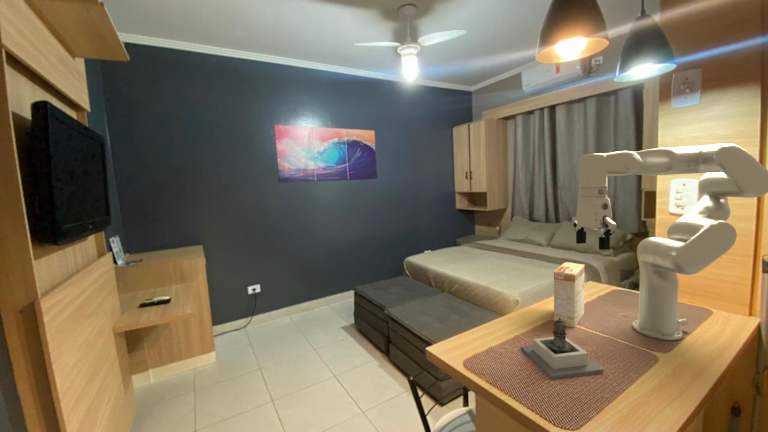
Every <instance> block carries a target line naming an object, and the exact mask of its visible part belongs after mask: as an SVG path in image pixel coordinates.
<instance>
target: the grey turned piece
mask: <svg viewBox="0 0 768 432" xmlns="http://www.w3.org/2000/svg"><path fill="white" fill-rule="evenodd" d="M552 334H553V337H554V339H553V341H550V342H549V343H548V345H549V347H550V350H551V351H552V352H553V353H554V354H562V353H569V352H570V350H571V346H570V345H569V344H568V343H566V338H567V335H568V333H567V332H566V325H565V323H564V322H563V321H561V319H560V318H559V320H557V321H555V322H554V321H553V330H552Z"/></svg>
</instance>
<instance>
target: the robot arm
mask: <svg viewBox="0 0 768 432" xmlns="http://www.w3.org/2000/svg"><path fill="white" fill-rule="evenodd" d="M578 160H579V163H578V166H579V167H578V168H579V169H578V200H577V205H576V214H575V215H574V216H573V217H571V221H572V225H573V227H574V231H575V232H576V233H575V243H576V244H579V245H580V244H581V245H582V244H586V243H587V231H585V230H587V229H588V230H594V231H597V233H598V234H599V235H600V236H598V250H600V251H603V250H610V248H611V237H612V236H613V234H614V233H615V230H616V228H617V226H618V223H616V222H615V221H614V220H613V214H612V212H613V211H612V204H611V200H610V197H608V193H609V190H608V186H609V183H608V181H609V179H608V177H619V176H620V177H621V176H623V177H624V176H635V175H636V176H669V175H672V176H673V175H689V174H703V175H702V176H701V177H700V179H699V180H698V186H697V187H698V201H697V203H696V204H695V205H694V206H693V207H691V209H689V210H688V211H687V212H685V213H683V215H681V216H680V217H679V218H678V219H676V220H675V221H673V223H671V224H670V225H669V226H668V228H667V229H666V235H667V237H666V238H665V237H660V236H659V237H658V236H651V237H650V236H649V237H646V238H644V239H643V240H641V241H640V242H639V244H638V245H637V249H636V258H637V262H638V267H639V295H638V296H639V297H638V319H636V320H634V321H633V322H632V325H631V326H632V329H634V330H635V331H636V332H637V333H639V334H641V335H644V336H647V337H649V338H653V339H658V340H664V341H677V340H681V339H682V338H683V333H684V332H683V331H682V330H681V329H679V328H680V327H681V326H688V325H689V324H690V322H689V320H688V319H687V318H680V319H678V302H679V301H678V297H679V279H678V275H677V274H680V275H682V276H691V275H696V274H698V273H700V272H701V271H703V270H705V269H706V268H707V267H709V266H710V265H711V264H713V263H714V262H716V261H717V260H718V259H719V258H721V257H722V256H723V255H725V254H726V253H728V251H729V250H731V249H732V247H733V246H734V245H735V243H736V240H737V230H736V228H735V227H734V226H733V224H731V223H730V222H728V221H727V220H729V218H730V216H731V208H730V205H729V204H730V203H729V199H728V197H729V198H744V199H745V198H747V199H748V198H749V199H750V198H751V199H752V198H761V197H762V196H765V195H766V194H768V169H767V168H766V167H765V166H764V165H763V164H762V163H760V162H759V161H758V159H756V157H754V156H753V155H752V154H751V153H750V152H748V150H746V149H744V148H743V147H741V146H739V145H737V144H735V143H730V142H729V143H728V142H727V143H716V144H715V143H714V144H707V145H694V146H693V145H692V146H691V145H690V146H676V147H674V146H671V147H658V148H651V149H650V148H649V149H644V150H639V151H637V150H636V151H629V150H622V151H621V150H620V151H612V152H605V153H604V152H603V153H602V152H600V153H599V152H598V153H587V154H582V155H581V156H580V158H579V159H578Z"/></svg>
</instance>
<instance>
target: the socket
mask: <svg viewBox="0 0 768 432" xmlns="http://www.w3.org/2000/svg"><path fill="white" fill-rule="evenodd" d="M553 339H554V336H548V337H542V338H541V337H540V338H539V337H538V338H533V339H532V345H525V346H524V345H523V346H520V350H521V351H522V352H523V354H525V355H526V356H527V357H528V358H529V360H531V361H532V362H533V364H535V365H536V366H537V367H538V368H539V369H540V371H542V372H543V373H544V374H545V375H546V376H547V377H548V378H549V379H550V380H557V379H563V378H571V377H572V378H573V377H581V376H589V375H595V374H603V373H604V368H602V366H601V367H600V366H599V365H598V364H597V363H595V362H594V361H592V360H591V359H590V358H589V353H588V352H587V351H586V350H584V349H583V348H582V347H581V346H579V345H577V344H575V343H574V342H573V341H572V340H570V339H569V338H568V337H566V343H568V344H569V345H570V346H571V350H570V352H569V353H562V354H554V353H553V352H552V351H551V350H550V347H549V345H548V343H549V342H550V341H553Z"/></svg>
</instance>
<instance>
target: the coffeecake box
mask: <svg viewBox="0 0 768 432" xmlns="http://www.w3.org/2000/svg"><path fill="white" fill-rule="evenodd" d="M585 265H586V264H583V263H582V264H581V263H575V262H568V261H565V262H564V263H562V264H561V265H560V266H559V267H558V268H556V269H555V270H554V271H553V323H554V322H555V321H557V320H559V318H560V319H561V321H563V322H564V323H565V327H570V328H574V329H575V328H576V326H577V325H578V324H579V322H580V320H581V319H582V318H583V316H584V315H585Z"/></svg>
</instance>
